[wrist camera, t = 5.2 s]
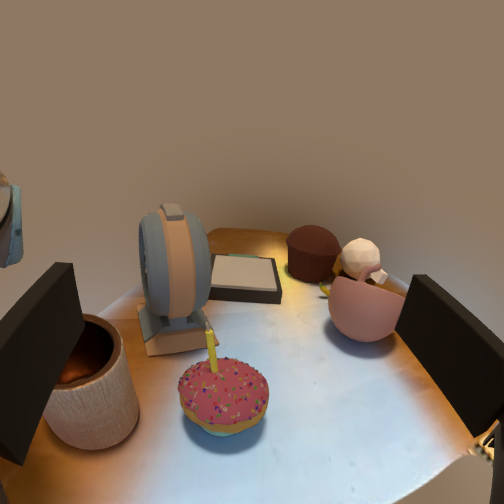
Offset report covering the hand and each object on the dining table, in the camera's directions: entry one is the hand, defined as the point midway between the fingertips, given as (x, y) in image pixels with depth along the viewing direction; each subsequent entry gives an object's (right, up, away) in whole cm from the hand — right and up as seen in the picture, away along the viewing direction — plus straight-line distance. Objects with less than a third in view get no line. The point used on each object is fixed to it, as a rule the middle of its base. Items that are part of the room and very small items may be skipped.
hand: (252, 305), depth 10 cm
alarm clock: (-11, -9, +31) cm, 34 cm away
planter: (-17, -15, +14) cm, 27 cm away
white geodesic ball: (+23, -4, +51) cm, 56 cm away
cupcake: (-3, -16, +17) cm, 23 cm away
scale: (-2, -4, +46) cm, 46 cm away
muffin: (+12, -3, +52) cm, 53 cm away
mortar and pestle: (+16, -11, +33) cm, 38 cm away
